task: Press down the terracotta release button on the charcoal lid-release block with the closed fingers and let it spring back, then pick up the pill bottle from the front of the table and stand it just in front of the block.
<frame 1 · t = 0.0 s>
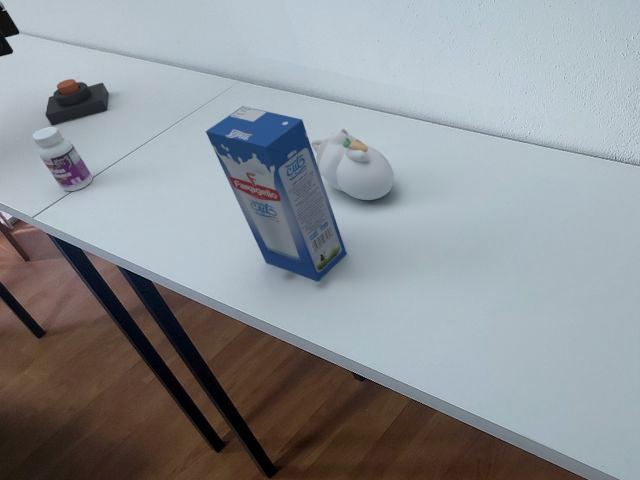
hand: (7, 45, 113), 17 cm above the table, tool pointing down, fingers open, 9 cm apart
lid block: (80, 108, 131), on the table
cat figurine: (359, 189, 99), on the table
pill bottle: (78, 184, 111), on the table
lid button: (68, 87, 128), point 4 cm above the table, slide at 0.1 cm
milk carton: (306, 259, 89), on the table
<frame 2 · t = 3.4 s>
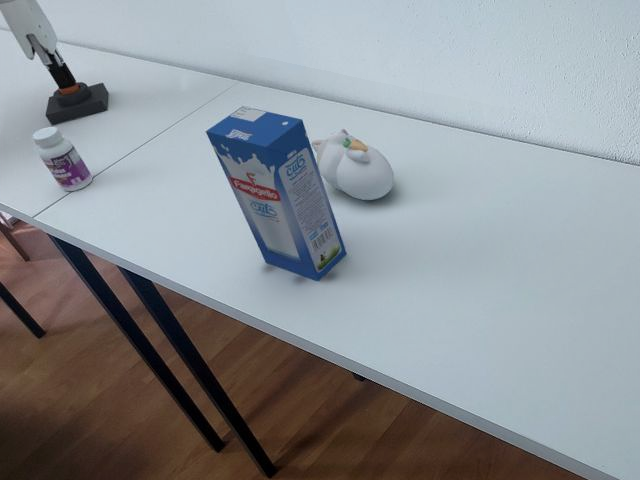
hand: (68, 85, 128), 5 cm above the table, tool pointing down, fingers closed
lid button: (70, 90, 129), point 4 cm above the table, slide at -0.5 cm, touching gripper
everything else where it was.
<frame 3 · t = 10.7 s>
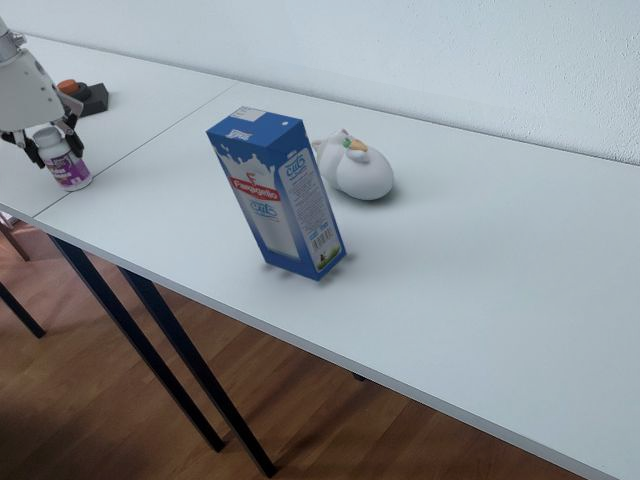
hand: (61, 158, 107), 5 cm above the table, tool pointing down, fingers closed on pill bottle, 5 cm apart
pill bottle: (78, 184, 111), on the table, touching gripper
lid button: (68, 87, 128), point 4 cm above the table, slide at 0.1 cm
everything else where it was.
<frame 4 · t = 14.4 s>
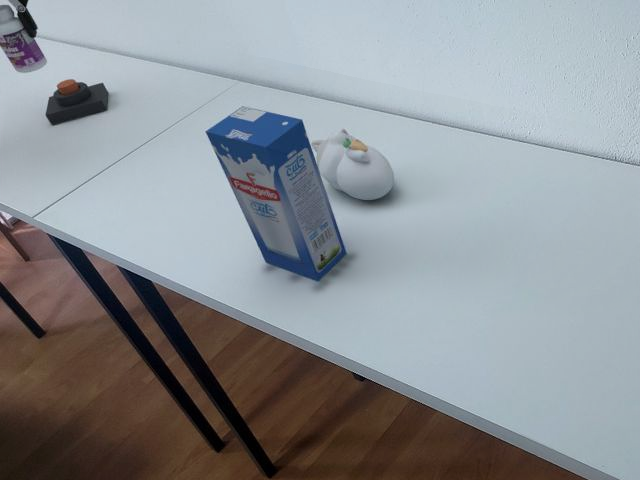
hand: (15, 38, 109), 19 cm above the table, tool pointing down, fingers closed on pill bottle, 5 cm apart
pill bottle: (33, 68, 112), point 14 cm above the table, touching gripper
everything else where it was.
when the fingers open (5 cm above the table, at t = 18.1 s): pill bottle stays where it is, on the table.
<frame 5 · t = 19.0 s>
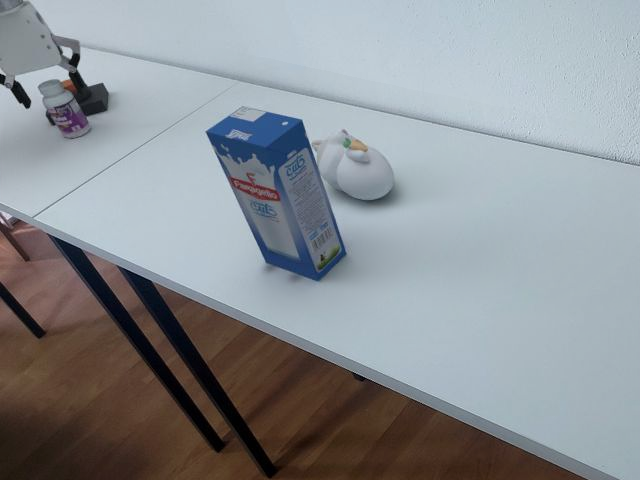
hand: (55, 98, 119), 7 cm above the table, tool pointing down, fingers open, 9 cm apart
pill bottle: (78, 132, 124), on the table
everything else where it was.
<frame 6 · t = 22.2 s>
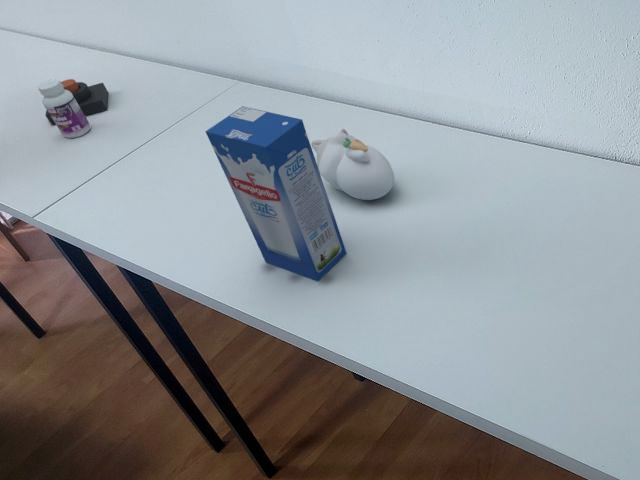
nothing on the table moved.
at the end: lid button pushed in 1.1 cm at the most during the clip, back to where it started at the end; lid button slide at 0.1 cm; pill bottle inside the target area on the table beside the lid block (0.0 cm from its centre), on the table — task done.
